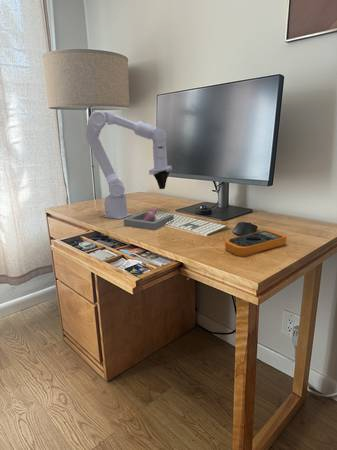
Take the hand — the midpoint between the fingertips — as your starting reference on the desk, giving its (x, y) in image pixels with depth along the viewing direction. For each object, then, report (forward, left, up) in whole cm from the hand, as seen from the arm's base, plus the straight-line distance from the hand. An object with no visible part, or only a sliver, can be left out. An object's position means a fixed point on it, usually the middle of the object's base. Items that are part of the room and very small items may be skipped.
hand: (162, 188), depth 138 cm
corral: (+5, -17, -10) cm, 21 cm away
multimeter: (+50, -25, -11) cm, 57 cm away
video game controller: (+5, -17, -11) cm, 20 cm away
